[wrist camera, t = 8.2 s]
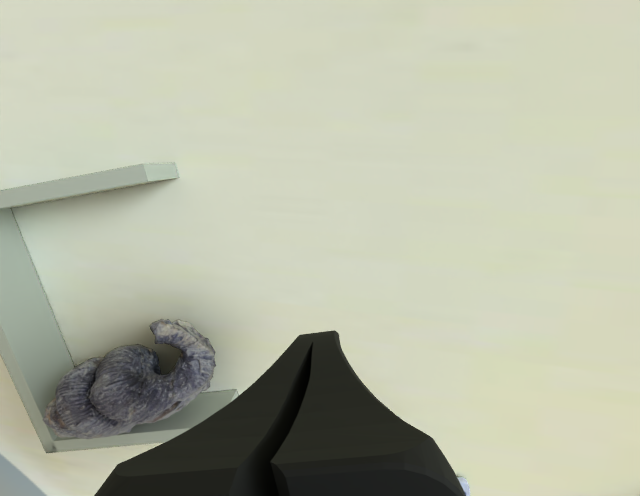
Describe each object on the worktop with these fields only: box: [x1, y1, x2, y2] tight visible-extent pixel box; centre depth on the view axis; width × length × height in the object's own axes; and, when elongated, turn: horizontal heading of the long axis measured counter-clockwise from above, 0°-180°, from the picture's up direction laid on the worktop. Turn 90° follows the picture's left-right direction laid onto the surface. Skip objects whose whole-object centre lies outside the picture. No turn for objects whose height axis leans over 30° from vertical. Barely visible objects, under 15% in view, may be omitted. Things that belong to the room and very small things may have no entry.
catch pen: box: [0, 163, 238, 453], centre depth 19 cm, size 15×11×3 cm
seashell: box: [43, 319, 216, 439], centre depth 19 cm, size 5×5×10 cm
